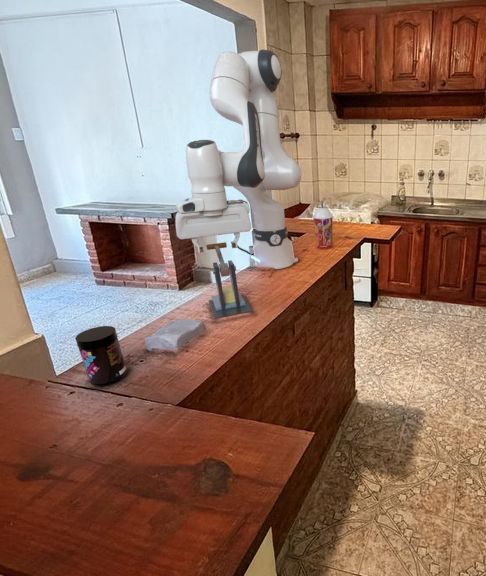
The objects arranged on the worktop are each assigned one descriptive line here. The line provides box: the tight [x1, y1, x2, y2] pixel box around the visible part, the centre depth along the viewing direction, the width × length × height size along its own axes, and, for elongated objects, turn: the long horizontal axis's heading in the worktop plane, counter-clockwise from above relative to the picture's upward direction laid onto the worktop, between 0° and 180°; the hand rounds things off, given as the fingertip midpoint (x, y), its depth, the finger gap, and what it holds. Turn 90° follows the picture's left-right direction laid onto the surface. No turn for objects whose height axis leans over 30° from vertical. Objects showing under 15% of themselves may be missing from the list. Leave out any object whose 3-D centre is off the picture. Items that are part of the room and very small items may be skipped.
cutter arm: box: [205, 241, 230, 278], centre depth 113 cm, size 14×6×2 cm, turn 27°
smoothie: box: [312, 200, 334, 250], centre depth 172 cm, size 8×8×20 cm
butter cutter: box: [208, 259, 254, 320], centre depth 111 cm, size 14×10×14 cm
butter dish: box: [211, 284, 246, 311], centre depth 115 cm, size 10×8×4 cm
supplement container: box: [75, 325, 128, 388], centre depth 80 cm, size 7×7×10 cm
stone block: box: [144, 318, 206, 352], centre depth 96 cm, size 12×5×10 cm
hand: (218, 249), depth 116 cm, fingers open, 8 cm apart
